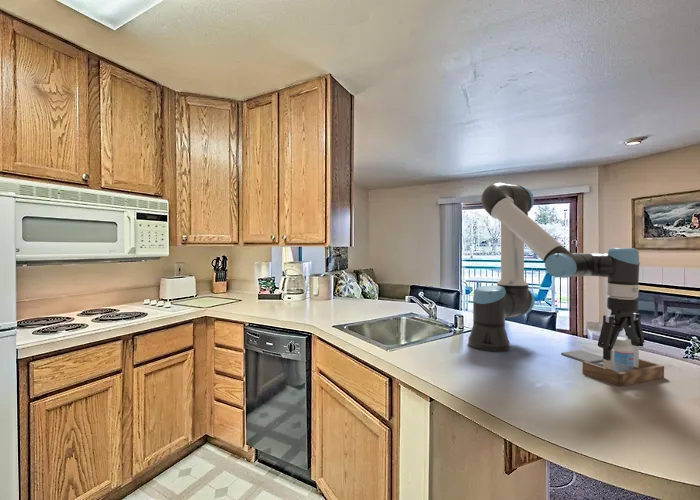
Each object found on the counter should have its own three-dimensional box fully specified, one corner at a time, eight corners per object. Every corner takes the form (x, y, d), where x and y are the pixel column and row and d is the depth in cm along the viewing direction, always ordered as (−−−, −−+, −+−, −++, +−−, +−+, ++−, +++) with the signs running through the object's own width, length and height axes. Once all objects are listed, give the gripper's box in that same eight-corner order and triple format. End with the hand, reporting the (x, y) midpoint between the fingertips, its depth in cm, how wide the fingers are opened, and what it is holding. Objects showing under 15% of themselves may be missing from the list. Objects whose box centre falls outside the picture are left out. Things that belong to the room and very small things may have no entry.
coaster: (588, 363, 115) (588, 361, 115) (561, 354, 125) (561, 352, 125) (608, 360, 119) (608, 358, 119) (580, 351, 128) (580, 349, 128)
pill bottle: (635, 379, 102) (636, 342, 102) (609, 375, 105) (610, 339, 105) (631, 373, 107) (632, 337, 107) (607, 369, 110) (608, 334, 110)
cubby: (620, 386, 97) (620, 374, 97) (582, 372, 107) (582, 361, 107) (663, 377, 104) (664, 365, 104) (624, 365, 114) (624, 354, 114)
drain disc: (604, 368, 111) (604, 368, 111) (591, 364, 115) (591, 363, 115) (612, 367, 112) (612, 366, 112) (599, 363, 116) (599, 362, 116)
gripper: (610, 301, 98) (608, 377, 99) (660, 297, 106) (658, 367, 107) (584, 297, 105) (582, 368, 106) (633, 294, 113) (631, 359, 114)
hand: (620, 368), depth 106 cm, fingers open, 11 cm apart
